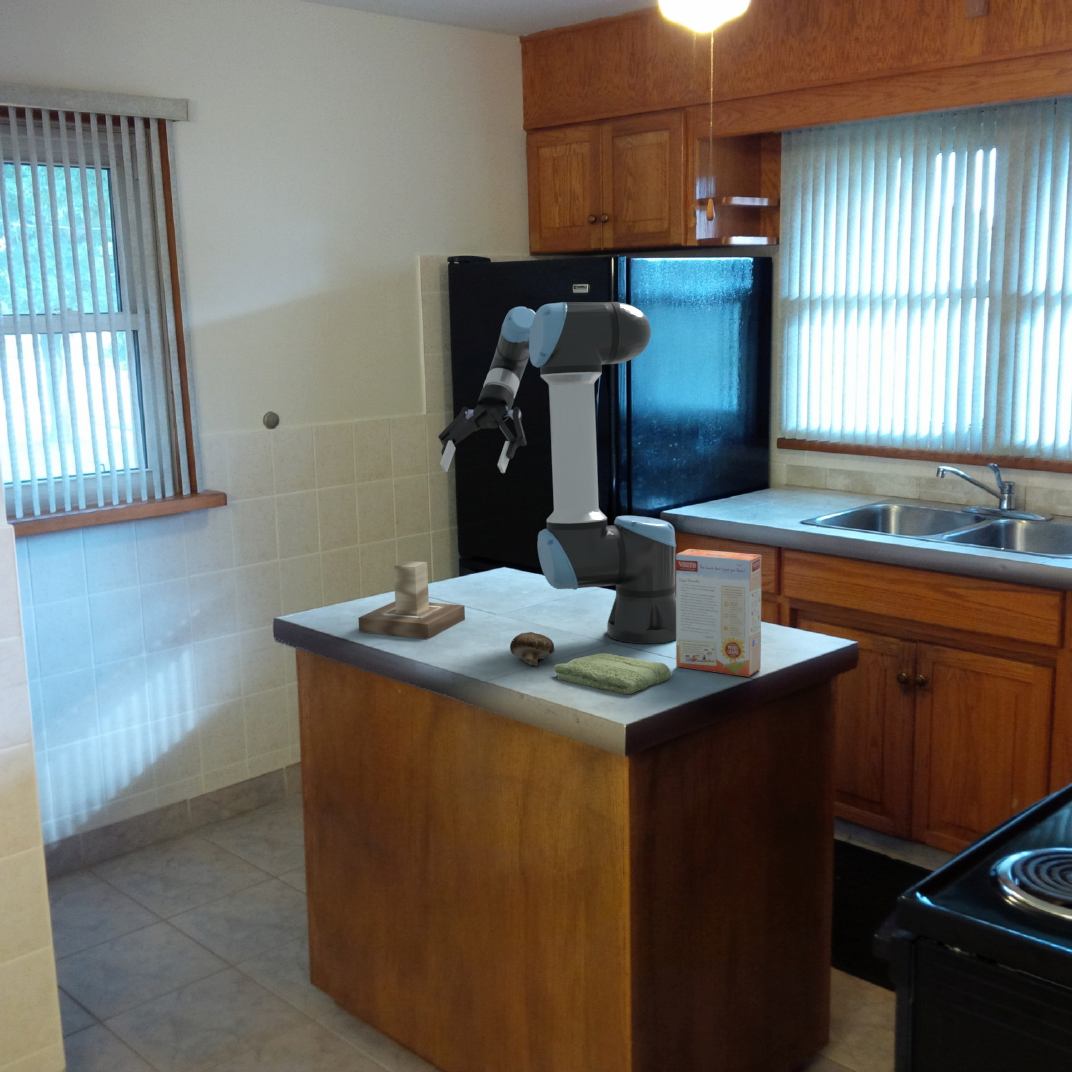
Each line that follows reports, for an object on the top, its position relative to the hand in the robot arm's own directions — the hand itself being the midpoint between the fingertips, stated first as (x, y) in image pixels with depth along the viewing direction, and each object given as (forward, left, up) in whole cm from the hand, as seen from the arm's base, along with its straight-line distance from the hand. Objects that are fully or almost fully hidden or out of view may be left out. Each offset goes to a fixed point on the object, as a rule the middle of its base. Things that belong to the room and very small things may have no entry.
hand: (471, 468), depth 247 cm
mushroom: (-33, +28, -31) cm, 53 cm away
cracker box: (-64, +15, -31) cm, 73 cm away
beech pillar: (+3, +18, -28) cm, 33 cm away
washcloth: (-51, +29, -31) cm, 66 cm away
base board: (+3, +18, -31) cm, 36 cm away
